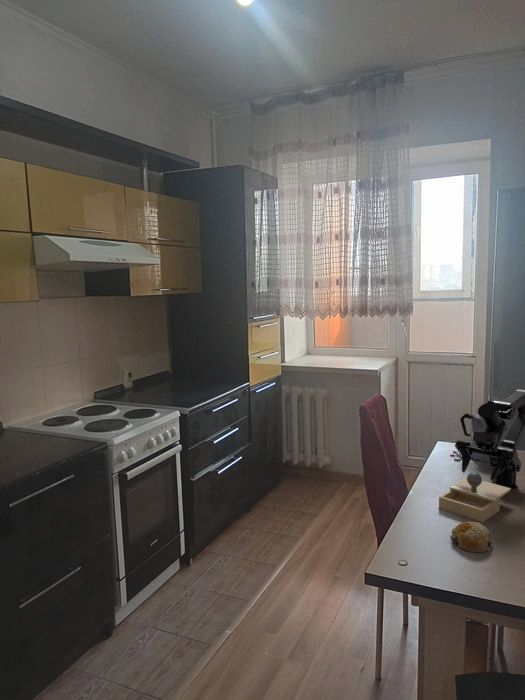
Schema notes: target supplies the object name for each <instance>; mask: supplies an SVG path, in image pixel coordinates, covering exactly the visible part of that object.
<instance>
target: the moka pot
mask: <svg viewBox="0 0 525 700" xmlns="http://www.w3.org/2000/svg"><path fill="white" fill-rule="evenodd" d="M465 419H468V420H471V429H472V432H471V433H472V434H470V433H468V431H467V428H466V424H465ZM460 424H461V427H462V430H463V435H464V436H465V437H471V435H472V436H473V435H474V431H477V432H482V431H484V430H485V427H486V425H484V423H483V422H482V420H481V418H480V416H479V414H478V412H477V413H464V414H463V415H462V417H460ZM475 443H476V441H471V443H470V444H471V446H473V447H478V445H476V444H475ZM470 456H471V459H473V460H475V461H478V462H479V461H480V462H490V459H489V456H486V455H482V454H477V453H472V455H470Z"/></svg>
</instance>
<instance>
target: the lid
mask: <svg viewBox="0 0 525 700" xmlns="http://www.w3.org/2000/svg"><path fill="white" fill-rule="evenodd" d="M449 490H455V491H458V492H462V493H465V494H468V495H472V496H475V497H479V498H482V499H485V500H489V501H492V502H495V501H497V500H498V499H499V498H500V499H501V498H502V497H504V496H505V495H506V494H508V493H509V492H510V491H511V490H512V488H508V487H504V486H500V485H496V484H494V483H493V482H488V481H485V480H483V478H482V475H480V474H479V472H470V473H468V475H466V477H465V478H463V479H461V480H459V481H458V482H456V483H454V484H453V485H451V486H449Z"/></svg>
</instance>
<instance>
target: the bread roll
mask: <svg viewBox="0 0 525 700" xmlns="http://www.w3.org/2000/svg"><path fill="white" fill-rule="evenodd" d="M449 538H450V541H452V542H453V544H454V545H455V546H456V547H458V548H459V549H461V550H464V551H466V552H472V553H485V552H490V551H491V545H492V541H493V540H492V539H493V538H492V534H491V532H490V530H489V529H488V528H487V527H486V526H485V525H483V524H482V523H480V522H477V521H469V520H468V521H463V522H460V523H459V524H458V525H456V526H455V527H454V528H452V531H451V535H450V537H449Z"/></svg>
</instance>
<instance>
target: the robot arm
mask: <svg viewBox="0 0 525 700" xmlns="http://www.w3.org/2000/svg"><path fill="white" fill-rule="evenodd" d="M477 413H478V414H479V416H480V418H481V420H482V422H483V423H484V425H486V427H485V430H484V431H482V432H477V431H474V435H473V434H472V441H476V443H475V444H476V445H478V447H473V446H471V444H472V443H470V441H468V440H462V439H457V440H456V442H455V444H454V447H455V449H456V451H458V453H459V454H460V455H461V471H462V473H465V472H466V470H467V469H468V466H469V464H470V462H471V460H472V458H471V456H470V455H472V453H477V454H482V455H486V456H489V459H490V461H489V465H490V467H491V468H492V467H493V470H492V473H491V475H490V480H491V483H493V484H496V485H500V486H504V487H508V488H511V489H517V488H519V485H517V472H521V468H522V462H521V460H520V458H519V454H518V450H517V449H518V448H519V445H520V444H521V441H522V439H523V438H524V436H525V389H521V388H518V389H516V390H515V391H514V392H513V393H512V394H511V395H509V396H508V397H505V398H504V399H501V398H500V399H495V400H488V401H487V402H486V403H483V404H481V405H480V406H479V407H478V408H477ZM513 419H514V421H513V422H512V424H511V426H510V427H509V429H508V427H507V426H508V425H507V423H506V421H505V420H507V421H511V420H513ZM505 431H508V432H507V434H506V436H505V437H504V439H503V440H502V438H503V436H504V433H505ZM472 441H471V442H472Z"/></svg>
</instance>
